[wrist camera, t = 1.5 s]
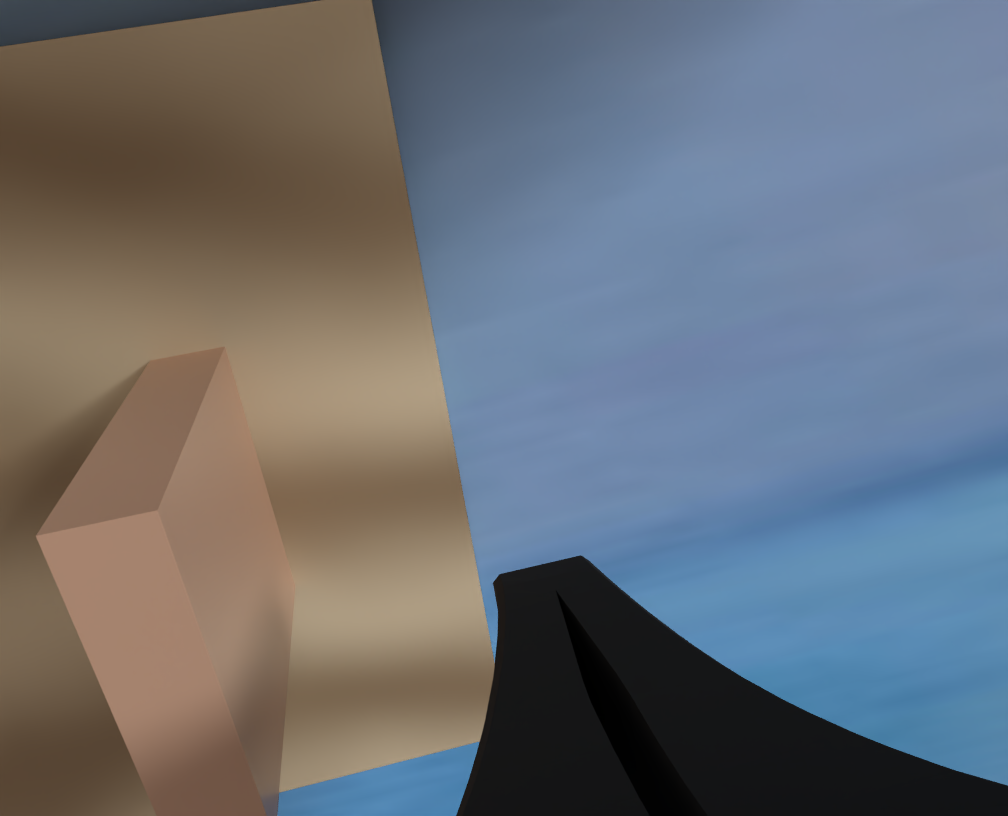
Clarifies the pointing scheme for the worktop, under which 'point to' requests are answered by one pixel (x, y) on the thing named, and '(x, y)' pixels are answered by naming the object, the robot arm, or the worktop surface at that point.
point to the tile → (182, 589)
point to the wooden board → (255, 365)
